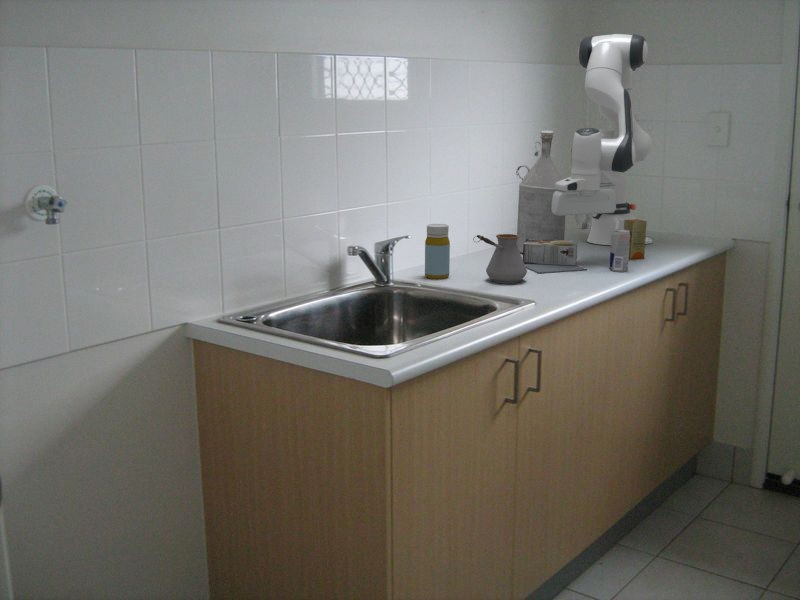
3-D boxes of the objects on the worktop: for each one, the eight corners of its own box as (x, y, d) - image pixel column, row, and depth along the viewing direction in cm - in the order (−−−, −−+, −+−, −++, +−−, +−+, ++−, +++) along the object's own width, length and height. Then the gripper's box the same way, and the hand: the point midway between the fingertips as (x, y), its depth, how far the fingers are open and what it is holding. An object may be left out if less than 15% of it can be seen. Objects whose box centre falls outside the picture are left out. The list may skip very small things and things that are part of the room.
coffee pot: (500, 274, 258) (501, 223, 255) (534, 280, 251) (536, 227, 248) (457, 287, 242) (458, 233, 239) (492, 293, 235) (494, 237, 232)
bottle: (420, 275, 257) (421, 224, 253) (442, 273, 259) (443, 223, 256) (431, 280, 251) (431, 227, 247) (453, 278, 253) (454, 226, 250)
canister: (522, 247, 303) (526, 129, 293) (570, 252, 294) (576, 130, 284) (506, 252, 292) (510, 130, 283) (555, 258, 283) (561, 132, 274)
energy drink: (615, 267, 268) (617, 228, 266) (631, 270, 265) (633, 230, 262) (605, 270, 265) (608, 230, 262) (621, 272, 261) (623, 232, 258)
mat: (562, 260, 279) (562, 259, 279) (587, 270, 264) (587, 269, 264) (515, 263, 275) (515, 262, 275) (538, 273, 260) (538, 272, 260)
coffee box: (576, 260, 277) (525, 258, 281) (577, 240, 276) (526, 238, 280) (575, 266, 269) (522, 263, 272) (576, 245, 267) (522, 243, 271)
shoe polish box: (630, 259, 281) (633, 222, 278) (621, 256, 286) (624, 219, 283) (643, 258, 283) (646, 221, 280) (635, 256, 287) (637, 219, 284)
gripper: (610, 181, 273) (608, 225, 276) (550, 183, 267) (548, 228, 270) (621, 183, 267) (618, 228, 270) (559, 185, 261) (557, 232, 265)
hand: (583, 228), depth 270 cm, fingers closed
